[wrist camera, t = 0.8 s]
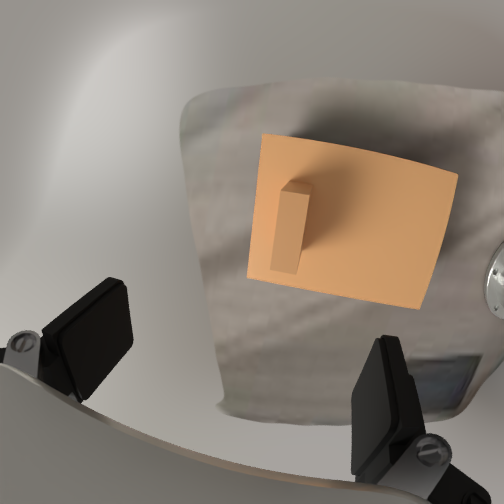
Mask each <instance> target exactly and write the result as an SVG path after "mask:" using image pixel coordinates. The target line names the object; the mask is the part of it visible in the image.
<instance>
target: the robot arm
mask: <svg viewBox="0 0 504 504" xmlns="http://www.w3.org/2000/svg"><path fill="white" fill-rule="evenodd" d="M484 295H485V299H486V303H487V305H488V307H489V309H490V310H491V311H492V313H493V314H494V315H495V316H497V317H498V318H501V319H504V242H503V243H502V244H501V245H500V247H499V248H498V250H497V251H496V252H495V254H494V256H493V258H492V260H491V262H490V264H489V267H488V270H487V273H486V277H485V284H484ZM128 303H129V302H128V294H127V287H126V286H125V285H124V283H123V281H122V280H119V279H115V278H112V277H108V278H107V279H105V280H104V281H103V282H101V283H100V284H99V285H97V286H96V287H95V288H93V289H92V290H91V291H89V292H88V293H87V294H86V295H84V296H83V297H82V298H81V299H79V300H78V301H77V302H75V303H74V304H73V305H71V306H70V307H69V308H68V309H66V310H65V311H64V312H63V313H62V314H60V315H59V316H58V317H57V318H55V319H54V320H53V321H52V322H50V323H49V324H48V325H47V326H46V327H44V328H43V329H42V333H43V336H42V337H41V338H40V336H39V335H38V334H37V333H36V332H34V331H27V330H26V331H21V332H19V333H16V334H15V335H13V336H12V337H11V338H10V339H9V341H8V343H7V347H6V348H0V504H491V497H490V495H489V493H488V492H487V491H486V490H485V489H484V488H483V487H482V486H480V485H479V484H478V483H476V482H475V481H473V480H472V479H471V478H469V477H468V476H466V475H465V474H464V473H463V472H461V471H460V470H459V469H457V468H456V467H455V466H453V465H452V464H451V463H450V462H451V459H452V450H451V447H450V445H449V444H448V442H447V441H446V440H445V439H444V438H443V437H441V436H439V435H437V434H432V433H428V434H426V430H425V425H424V420H423V416H422V411H421V407H420V402H419V398H418V394H417V390H416V386H415V382H414V378H413V376H412V375H409V374H408V370H407V366H406V362H405V359H404V355H403V351H402V348H401V344H400V341H399V338H398V337H396V336H389V335H382V336H381V338H376V339H375V341H374V344H373V346H372V349H371V351H370V354H369V356H368V358H367V361H366V363H365V365H364V368H363V370H362V372H361V374H360V376H359V379H358V381H357V383H356V385H355V387H354V389H353V392H352V398H351V404H352V455H351V457H352V458H351V473H352V475H356V477H355V482H349V481H341V480H330V479H321V478H313V477H306V476H299V475H293V474H287V473H281V472H275V471H270V470H265V469H260V468H255V467H251V466H246V465H242V464H238V463H233V462H230V461H226V460H222V459H219V458H215V457H211V456H208V455H205V454H201V453H198V452H195V451H192V450H188V449H185V448H182V447H180V446H177V445H174V444H171V443H168V442H165V441H163V440H160V439H157V438H155V437H152V436H149V435H147V434H144V433H142V432H140V431H137V430H135V429H133V428H130V427H128V426H126V425H123V424H121V423H119V422H116V421H115V420H112V419H110V418H108V417H106V416H104V415H102V414H100V413H98V412H96V411H94V410H92V409H90V408H88V407H86V406H84V405H82V404H81V403H82V402H83V400H87V399H88V398H89V397H90V396H91V395H92V394H93V392H94V391H95V390H96V389H97V387H98V386H99V385H100V384H101V383H102V381H103V380H104V379H105V378H106V377H107V375H108V374H109V373H110V372H111V371H112V369H113V368H114V367H115V366H116V365H117V363H118V362H119V361H120V360H121V359H122V357H123V356H124V355H125V354H126V353H127V351H128V350H129V349H130V348H131V347H132V344H133V340H134V339H133V333H132V325H131V318H130V311H129V304H128Z"/></svg>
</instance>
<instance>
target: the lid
mask: <svg viewBox="0 0 504 504" xmlns="http://www.w3.org/2000/svg"><path fill="white" fill-rule="evenodd" d="M457 179H458V174H456V173H453V172H450V171H447V170H443V169H440V168H436V167H433V166H429V165H426V164H422V163H419V162H415V161H411V160H407V159H403V158H399V157H395V156H391V155H387V154H382V153H378V152H374V151H369V150H364V149H359V148H354V147H349V146H344V145H339V144H333V143H327V142H322V141H315V140H309V139H302V138H295V137H288V136H281V135H272V134H262V143H261V152H260V161H259V170H258V180H257V189H256V198H255V207H254V216H253V226H252V235H251V244H250V253H249V263H248V272H247V278H251V279H256V280H261V281H266V282H271V283H276V284H281V285H286V286H291V287H296V288H301V289H307V290H312V291H317V292H322V293H328V294H333V295H338V296H344V297H349V298H355V299H360V300H366V301H372V302H377V303H383V304H389V305H395V306H400V307H406V308H412V309H418V310H419V309H420V306H421V304H422V301H423V299H424V296H425V293H426V291H427V288H428V285H429V282H430V279H431V277H432V274H433V271H434V268H435V265H436V261H437V258H438V255H439V252H440V248H441V245H442V242H443V238H444V235H445V231H446V227H447V223H448V220H449V216H450V211H451V207H452V203H453V199H454V194H455V189H456V184H457Z"/></svg>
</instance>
